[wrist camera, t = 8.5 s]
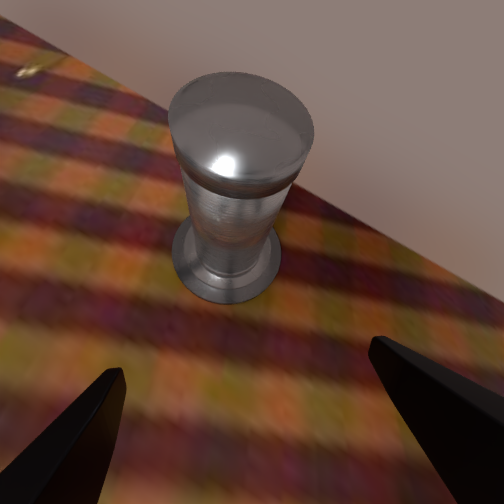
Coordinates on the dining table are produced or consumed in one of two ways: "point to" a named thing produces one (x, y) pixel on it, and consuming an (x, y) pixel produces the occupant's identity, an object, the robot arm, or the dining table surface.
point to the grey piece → (237, 162)
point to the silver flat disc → (219, 287)
